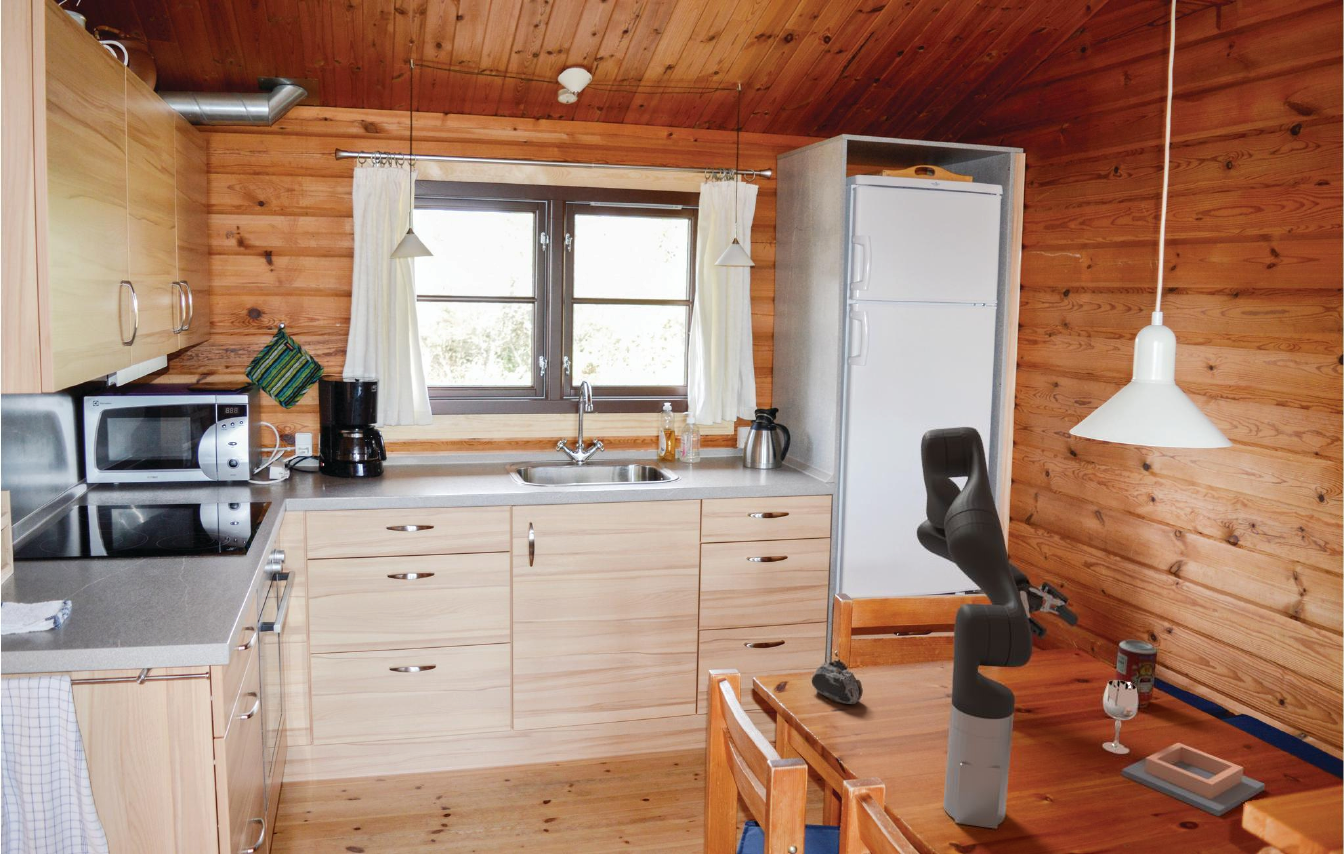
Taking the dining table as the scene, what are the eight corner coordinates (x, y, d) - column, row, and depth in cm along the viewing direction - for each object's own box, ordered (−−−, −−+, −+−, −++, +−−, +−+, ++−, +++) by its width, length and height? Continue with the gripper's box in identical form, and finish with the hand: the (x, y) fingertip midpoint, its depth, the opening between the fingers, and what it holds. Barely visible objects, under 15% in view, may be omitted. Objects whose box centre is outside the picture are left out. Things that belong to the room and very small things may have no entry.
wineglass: (1099, 738, 181) (1105, 676, 180) (1134, 745, 179) (1140, 682, 177) (1097, 750, 176) (1103, 686, 175) (1132, 758, 173) (1139, 693, 172)
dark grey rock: (851, 713, 189) (883, 698, 195) (852, 678, 188) (884, 665, 194) (804, 693, 198) (837, 680, 204) (805, 660, 197) (837, 648, 203)
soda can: (1131, 710, 194) (1137, 651, 193) (1105, 696, 201) (1111, 638, 199) (1159, 707, 197) (1166, 648, 195) (1133, 693, 203) (1138, 636, 202)
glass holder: (1264, 789, 164) (1266, 769, 163) (1218, 816, 154) (1220, 795, 154) (1168, 751, 177) (1171, 733, 176) (1121, 774, 167) (1123, 755, 167)
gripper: (976, 570, 190) (1039, 623, 178) (1028, 553, 197) (1092, 603, 185) (966, 599, 194) (1027, 653, 182) (1018, 582, 201) (1079, 633, 189)
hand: (1060, 628), depth 184 cm, fingers open, 8 cm apart
